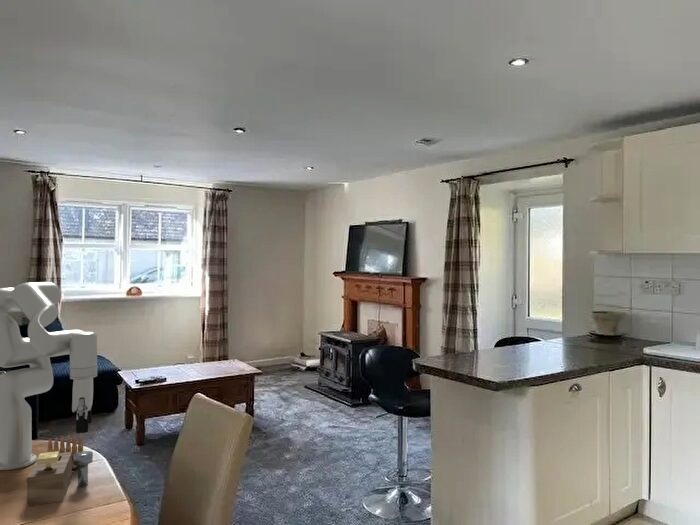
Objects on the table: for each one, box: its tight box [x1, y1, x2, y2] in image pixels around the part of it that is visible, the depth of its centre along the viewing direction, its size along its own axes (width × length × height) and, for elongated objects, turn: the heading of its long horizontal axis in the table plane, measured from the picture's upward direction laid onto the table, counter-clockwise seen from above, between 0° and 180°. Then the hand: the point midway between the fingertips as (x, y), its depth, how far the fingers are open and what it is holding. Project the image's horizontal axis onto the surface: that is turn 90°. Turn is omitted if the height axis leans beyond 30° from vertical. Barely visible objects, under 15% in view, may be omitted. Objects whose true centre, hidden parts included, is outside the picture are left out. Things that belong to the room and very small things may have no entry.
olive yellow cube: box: [36, 451, 59, 471], centre depth 153 cm, size 5×5×5 cm
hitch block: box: [26, 451, 73, 507], centre depth 157 cm, size 18×9×8 cm, turn 21°
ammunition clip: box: [46, 433, 84, 472], centre depth 171 cm, size 11×2×12 cm, turn 125°
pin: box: [73, 450, 94, 488], centre depth 161 cm, size 5×5×10 cm
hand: (84, 428), depth 161 cm, fingers open, 9 cm apart
